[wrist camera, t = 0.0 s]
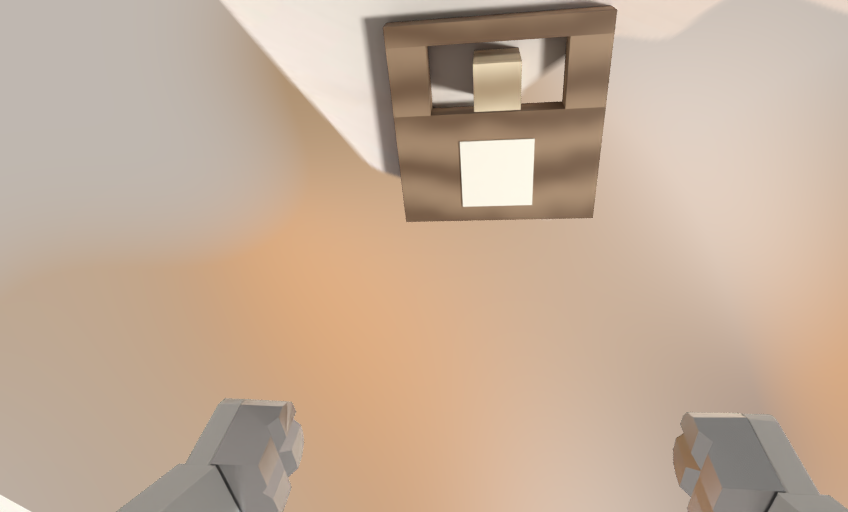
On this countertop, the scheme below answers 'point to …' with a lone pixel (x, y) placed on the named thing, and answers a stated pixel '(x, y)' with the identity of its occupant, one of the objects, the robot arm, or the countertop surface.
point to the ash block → (497, 79)
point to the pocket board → (501, 123)
